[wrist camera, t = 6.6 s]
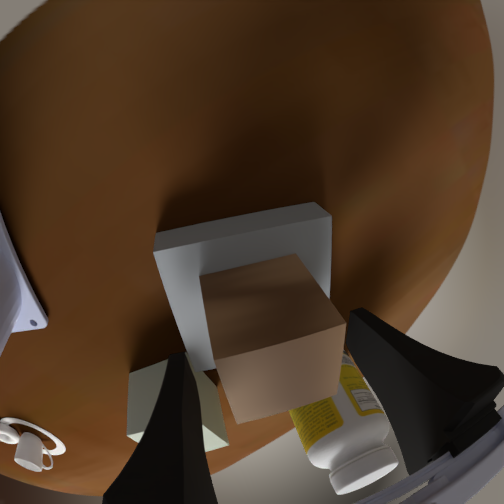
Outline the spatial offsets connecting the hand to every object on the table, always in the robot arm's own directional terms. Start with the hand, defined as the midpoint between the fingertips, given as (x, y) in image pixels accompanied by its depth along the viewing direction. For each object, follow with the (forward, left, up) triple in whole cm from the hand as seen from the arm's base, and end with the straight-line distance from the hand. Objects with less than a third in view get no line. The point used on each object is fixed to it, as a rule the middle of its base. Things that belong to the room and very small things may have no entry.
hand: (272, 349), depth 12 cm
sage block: (-6, -7, -5) cm, 11 cm away
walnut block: (0, 0, -3) cm, 3 cm away
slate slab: (0, 0, -6) cm, 6 cm away
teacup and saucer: (-25, -12, -6) cm, 28 cm away
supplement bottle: (+4, -9, -5) cm, 11 cm away
